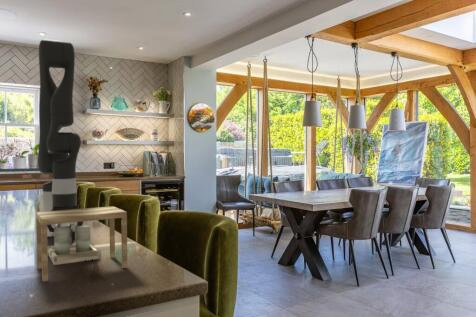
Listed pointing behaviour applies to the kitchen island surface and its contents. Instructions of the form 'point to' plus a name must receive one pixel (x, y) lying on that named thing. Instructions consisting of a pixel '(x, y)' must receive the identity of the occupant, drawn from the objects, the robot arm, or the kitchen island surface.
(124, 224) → the oak shelf
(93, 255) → the tray
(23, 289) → the kitchen island surface
